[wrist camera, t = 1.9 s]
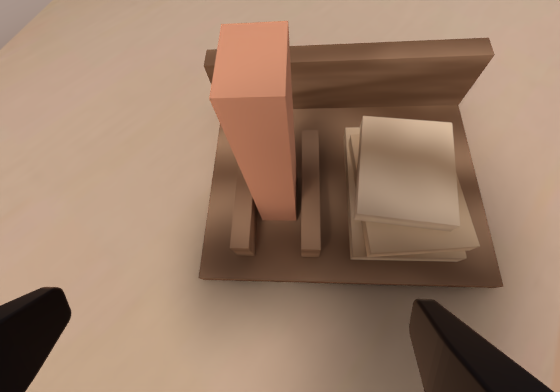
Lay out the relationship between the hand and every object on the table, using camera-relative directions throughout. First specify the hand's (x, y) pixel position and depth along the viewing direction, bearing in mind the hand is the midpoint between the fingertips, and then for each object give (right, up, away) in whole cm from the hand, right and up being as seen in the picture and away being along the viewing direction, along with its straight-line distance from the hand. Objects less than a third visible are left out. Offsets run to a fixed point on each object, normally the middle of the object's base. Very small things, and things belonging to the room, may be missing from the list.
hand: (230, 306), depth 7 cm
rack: (+6, +4, +16) cm, 17 cm away
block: (+1, +3, +15) cm, 15 cm away
